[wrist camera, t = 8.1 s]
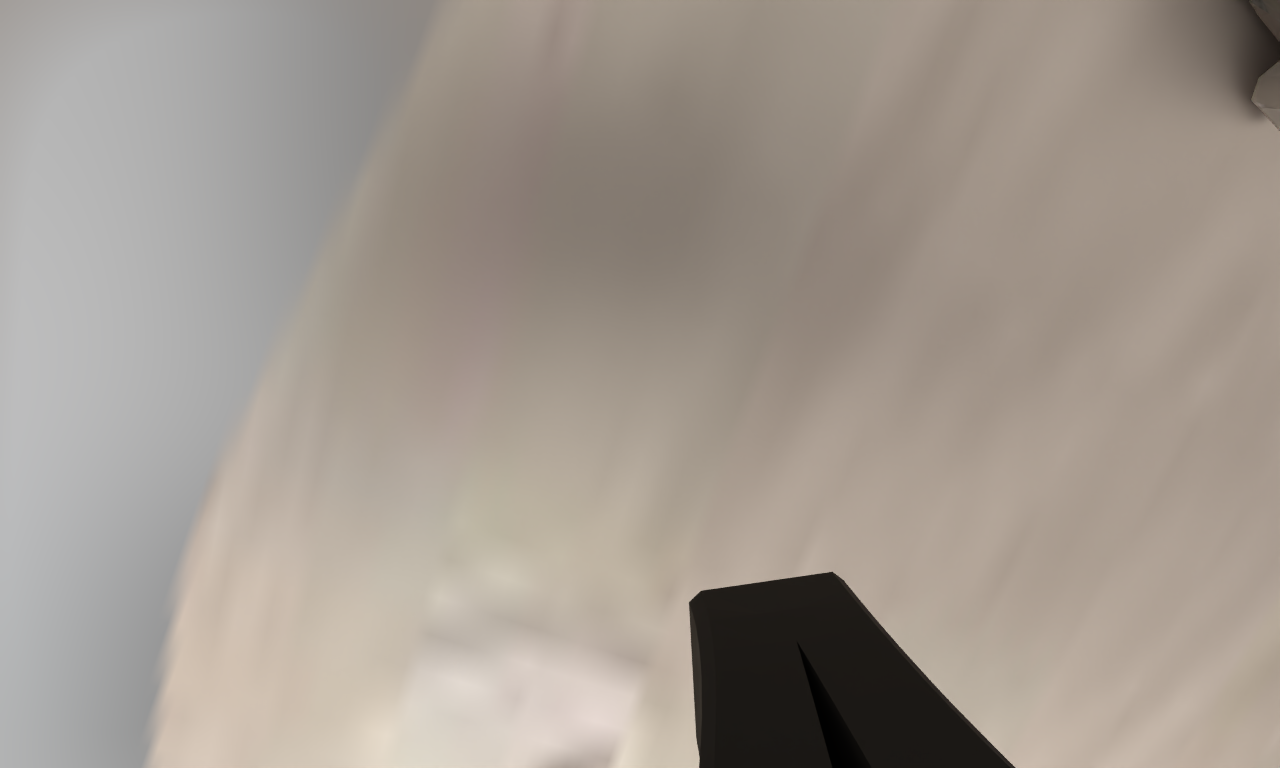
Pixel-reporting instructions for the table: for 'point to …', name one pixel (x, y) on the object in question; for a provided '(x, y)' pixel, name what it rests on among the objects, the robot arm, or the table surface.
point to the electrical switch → (1276, 88)
